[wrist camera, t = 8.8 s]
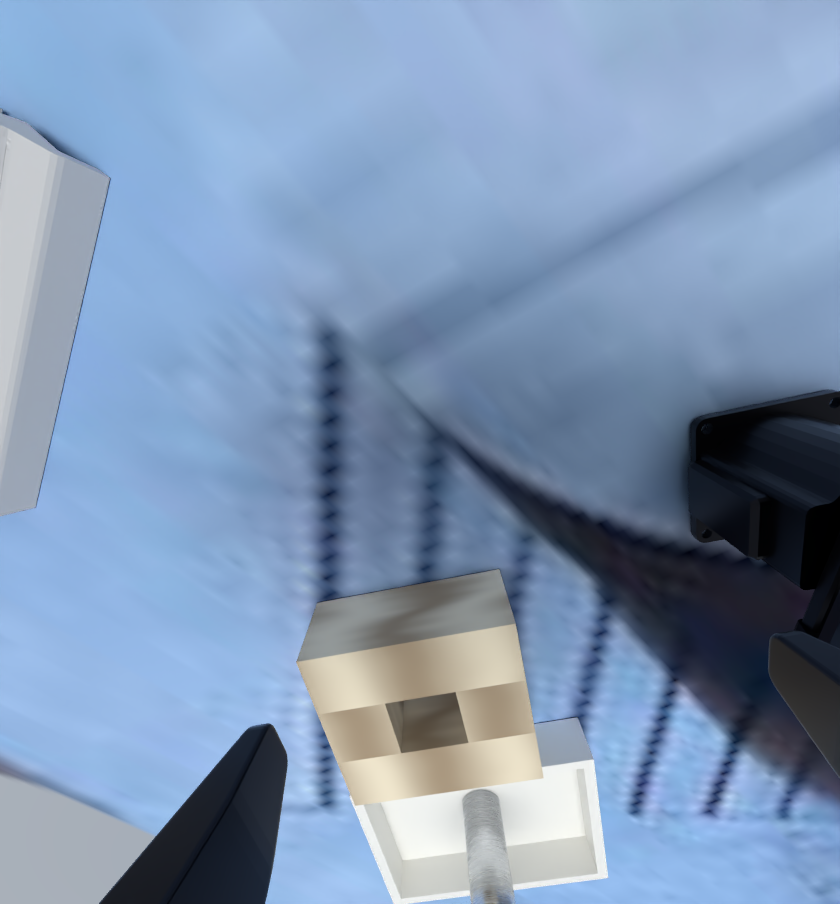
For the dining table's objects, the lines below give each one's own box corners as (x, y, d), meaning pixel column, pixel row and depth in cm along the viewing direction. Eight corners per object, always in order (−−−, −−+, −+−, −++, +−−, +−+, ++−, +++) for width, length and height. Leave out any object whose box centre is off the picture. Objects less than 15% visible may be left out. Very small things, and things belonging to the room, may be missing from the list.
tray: (577, 717, 25) (593, 759, 23) (592, 831, 29) (608, 877, 26) (355, 752, 26) (349, 795, 24) (396, 858, 30) (394, 905, 27)
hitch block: (499, 569, 22) (515, 623, 18) (525, 707, 25) (543, 778, 21) (317, 602, 23) (296, 662, 19) (364, 732, 26) (355, 806, 22)
